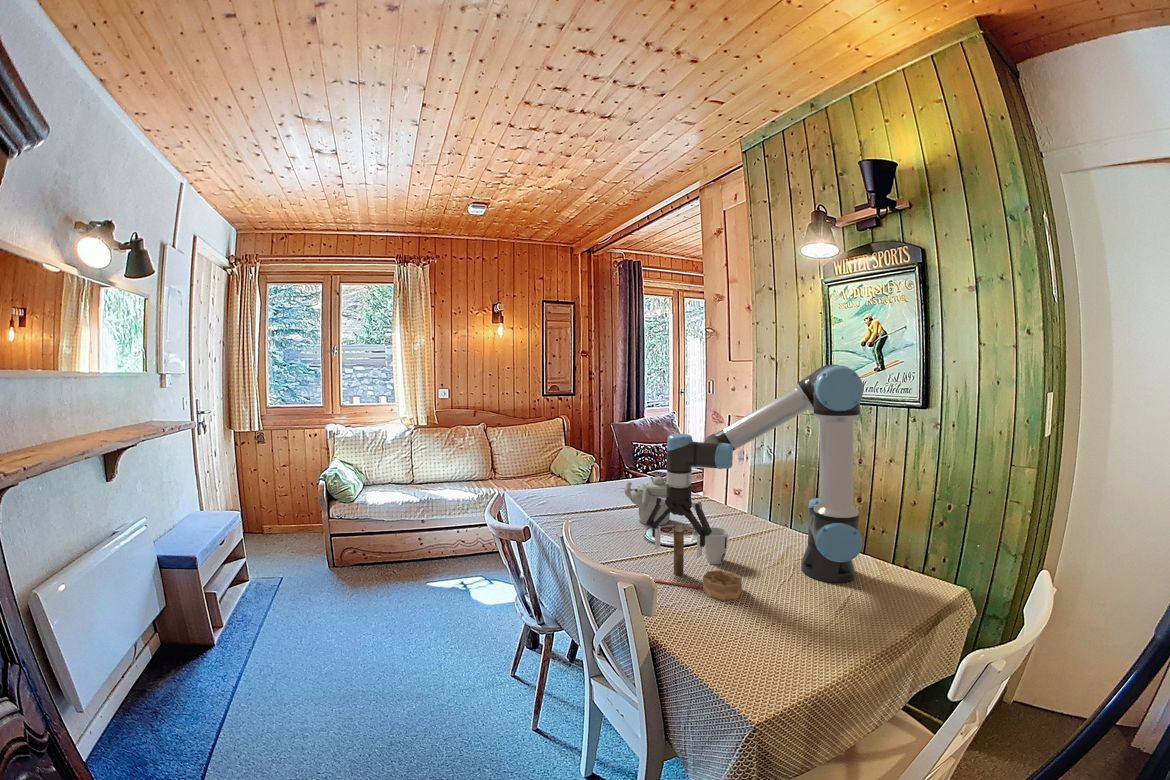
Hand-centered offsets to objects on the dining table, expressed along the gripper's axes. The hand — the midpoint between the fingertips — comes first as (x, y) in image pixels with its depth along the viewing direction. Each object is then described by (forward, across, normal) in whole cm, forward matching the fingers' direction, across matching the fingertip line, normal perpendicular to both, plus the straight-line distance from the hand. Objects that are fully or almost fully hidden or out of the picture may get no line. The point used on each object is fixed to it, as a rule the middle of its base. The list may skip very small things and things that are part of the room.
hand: (678, 552), depth 165 cm
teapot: (+7, +27, -41) cm, 50 cm away
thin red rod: (+7, -2, +7) cm, 10 cm away
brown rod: (+7, 0, 0) cm, 7 cm away
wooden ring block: (+7, -15, +5) cm, 17 cm away
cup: (+7, -7, -15) cm, 18 cm away
